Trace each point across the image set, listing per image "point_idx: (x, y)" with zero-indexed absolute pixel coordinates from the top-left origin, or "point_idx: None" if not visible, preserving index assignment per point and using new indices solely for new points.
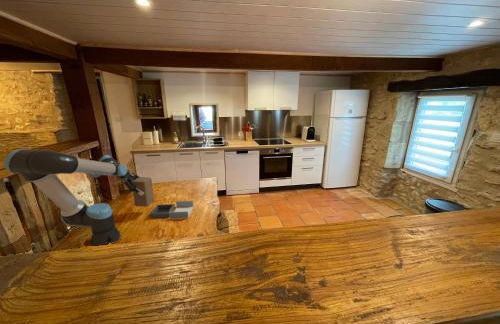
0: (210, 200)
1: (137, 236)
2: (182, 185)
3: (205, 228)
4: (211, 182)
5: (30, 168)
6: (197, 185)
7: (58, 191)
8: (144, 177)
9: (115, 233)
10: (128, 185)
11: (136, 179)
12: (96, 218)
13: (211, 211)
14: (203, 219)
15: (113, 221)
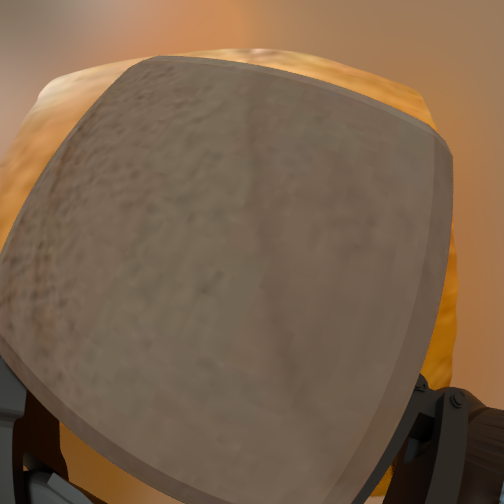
0: (227, 57)
1: (452, 316)
2: (27, 165)
3: (417, 100)
4: (78, 74)
5: None
6: (65, 108)
7: None
8: (58, 167)
9: (471, 397)
10: (437, 501)
11: (156, 427)
12: None
13: (318, 63)
14: (369, 89)
15: (495, 413)
